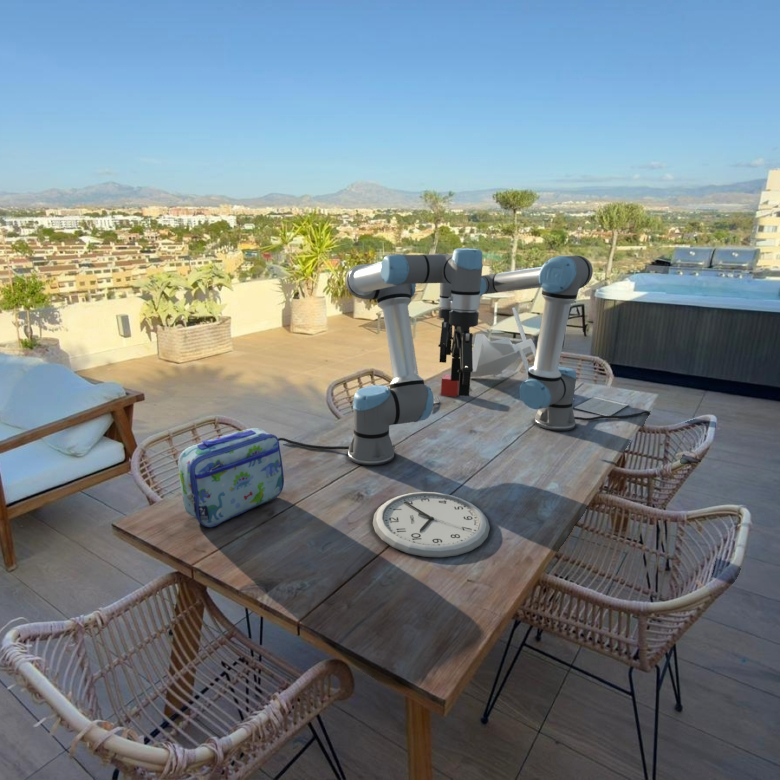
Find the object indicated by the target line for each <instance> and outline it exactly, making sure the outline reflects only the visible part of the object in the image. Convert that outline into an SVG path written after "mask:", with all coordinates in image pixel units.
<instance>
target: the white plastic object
mask: <svg viewBox="0 0 780 780" xmlns="http://www.w3.org/2000/svg"><path fill="white" fill-rule="evenodd" d="M511 310H512V314H513V316H514V319H515V322H516V325H517V328H518V331H519V334H520V338H521V341H520V342H517V343H513V342H512V341H511V339H510V338H509V337H505V338H500V339H495V340H490V339H489V338H488V337H487V336H486V334H485V333H476V334H475V338H474V342H473V345H472V361H473V371H472V372H471V374H470V378H477V377H484V376H493V377H495V376H498V375H502V374H503V371H504V370H505V369H507V368H509V367H510V366H511V365H512V364H515V362H517V361H518V360H520V359H521V361H522V364H523V367H524V370H525V373H526V375H527V374H528V369H529V368H530V367H531V366H530V365H529V362H528V358H527V355H528V354H531V353H532V355H533V357H534V359H535V354H536V349H537V347H536V344H535V343H534V341H533V339H532V338H530V337H529V338H527V337H526V334H525V331H524V327H523V325H522V322H521V318H520V315H519V313H518V311H517V309H516V307H512V308H511ZM465 367H467V366H465Z"/></svg>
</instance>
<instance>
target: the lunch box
mask: <svg viewBox="0 0 780 780" xmlns="http://www.w3.org/2000/svg"><path fill="white" fill-rule="evenodd" d="M278 438H279V437H278V436H277V435H275V434H272V433H268V432H267V431H265V430H263V429H262V428H260V427H259V428H257V427H253V428H252V427H251V428H247V429H243V430H238V431H235V432H232V433H228V434H225V435H221V436H218V437H215V438H211V439H208V440H202V441H201V442H199V443H197V444H193V445H190V446H188V447H186V448H185V449H184V450H182V452H181V453H180V454H179V457H178V461H177V468H178V476H179V483H180V484H179V485H180V490H181V496H182V502H183V507H184V510H185V512H186V513H187V514H188V515H190V517H193V518H194V519H196V520H197V522H199V524H201V526H203V527H206V528H213V527H214V528H215V527H216V526H219V525H220V524H222V523H224V522H226V521H228V520H230V519H232V518H234V517H237V516H239V515H241V514H243V513H246V512H247V511H249V510H252V509H254V508H256V507H258V506H260V505H263V504H266V503H268V502H271V501H272V500H274V499H276V498H277V497H279V496H280V495H281V493H282V491H283V489H284V485H285V477H284V469H283V468H284V466H283V459H282V452H281V446H280V441H279V440H278Z"/></svg>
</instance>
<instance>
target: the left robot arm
mask: <svg viewBox="0 0 780 780" xmlns="http://www.w3.org/2000/svg"><path fill="white" fill-rule="evenodd" d="M483 268H484V264H483V251H482V250H481V249H479V248H467V247H466V248H455V249H454V250H453V252H452V254H448V253H446V252H445V253H436V254H435V253H434V254H401V253H395V254H388V255H385V256H384V257H383V260H382V261H379V262H376V263H364V264H358V265H355V266H352V267H351V268H350V269H349V270H348V271H347V273H346V275H345V277H344V278H345V279H344V283H345V287H346V289H347V291H348V292H349V294H351V295H352V296H354V297H356V298H357V299H361V300H376V303H377V307H378V308H379V309H380V310H382V314H383V319H384V320H383V321H384V327H385V335H386V340H387V348H388V355H389V360H390V367H391V375H392V380H391V382H390V383H389V386H387V385H385V384H384V385H383V384H378V385H377V384H372V385H371V384H370V385H367V386H364V387H361V388H358V390H356V391H355V393H354V395H353V403H352V410H353V435H352V438H351V441H350V444H349V445H347V446H345V445H342V446H341V445H337V446H335V445H334V446H333V445H332V446H329V445H328V446H326V445H313V444H307V443H303V442H302V443H301V442H299V441H294V440H291V439H288V438H285V437H277V438H278V440H279V442H280V441H282V442H286V443H288V444H293V445H297V446H301V447H304V448H310V449H318V450H348V451H347V453H348V454H347V457H348V459H349V460H350V461H351V462H352V463H355V464H358V465H361V466H368V467H369V466H370V467H371V466H380V465H382V466H383V465H385V464H388V463H390V462H391V461H393V460H394V459H395V449H396V448H395V444H393V442H392V439H391V436H390V426H394V425H402V424H407V423H410V424H411V423H418V422H421V421H425V420H427V419H429V417H430V416H431V414H432V412H433V409H434V406H433V404H434V400H435V397H434V393H433V390H432V388H431V387H430V386H429V385H427V384H425V379H424V378H422V377H421V376H420V375H419V371H418V364H417V363H418V362H417V357H416V351H415V350H416V349H415V344H414V337H413V332H412V331H413V330H412V324H411V318H410V311H409V305H410V304H411V302H412V298H413V297H414V296H415V293H416V287H417V284H440V283H449V284H451V297H449V298H448V300H449V301H451V302H450V308H451V309H452V310H451V311H450V316H449V323H450V325H452V327H453V334H452V335H453V336H452V337H453V340H452V343H451V367H450V375H451V381H459V390H458V395H457V397H469V396H470V386H471V377H470V374H471V372H472V371H473V361H472V351H473V336H474V334H473V332H470V331H471V330H470V328H473V327H477V326H478V324H479V315H480V313H479V311H478V310H479V309H480V303H481V297H480V288H481V277H482V276H483ZM465 366H467V367H465Z"/></svg>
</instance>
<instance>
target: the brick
mask: <svg viewBox="0 0 780 780" xmlns="http://www.w3.org/2000/svg"><path fill="white" fill-rule="evenodd" d="M440 384H441V385H440V396H444V397H445V396H446V397H453V398H457V397H458V390H459V381H451V374H444V375H443V376H442V377H441V383H440Z"/></svg>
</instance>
